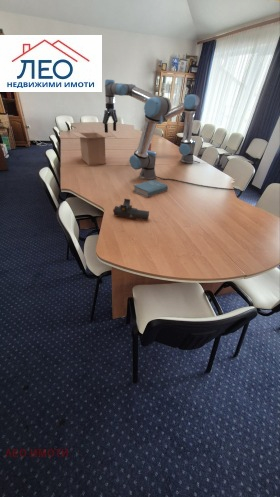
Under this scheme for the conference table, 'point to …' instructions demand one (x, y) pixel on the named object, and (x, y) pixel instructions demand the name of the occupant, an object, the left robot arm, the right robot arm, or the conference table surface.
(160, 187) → the book
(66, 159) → the conference table surface
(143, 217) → the laser sight
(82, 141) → the box
